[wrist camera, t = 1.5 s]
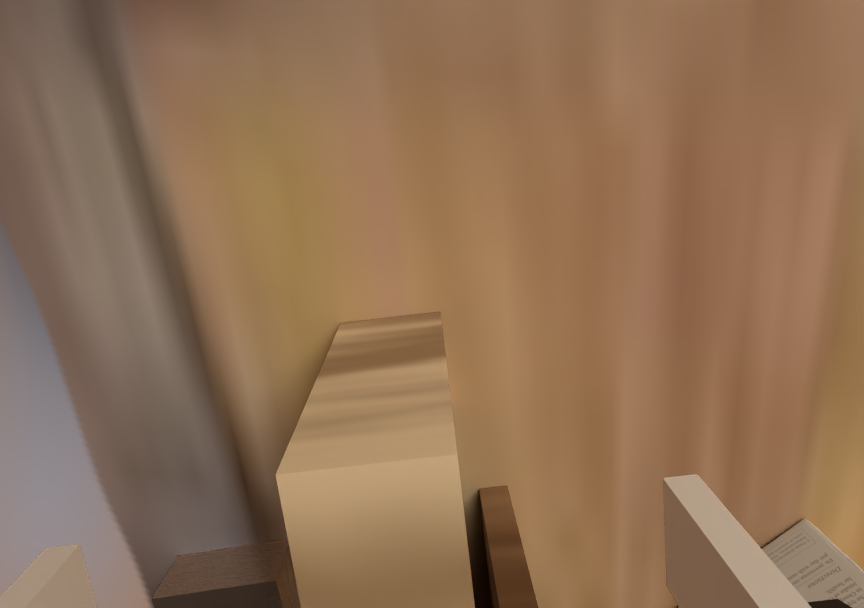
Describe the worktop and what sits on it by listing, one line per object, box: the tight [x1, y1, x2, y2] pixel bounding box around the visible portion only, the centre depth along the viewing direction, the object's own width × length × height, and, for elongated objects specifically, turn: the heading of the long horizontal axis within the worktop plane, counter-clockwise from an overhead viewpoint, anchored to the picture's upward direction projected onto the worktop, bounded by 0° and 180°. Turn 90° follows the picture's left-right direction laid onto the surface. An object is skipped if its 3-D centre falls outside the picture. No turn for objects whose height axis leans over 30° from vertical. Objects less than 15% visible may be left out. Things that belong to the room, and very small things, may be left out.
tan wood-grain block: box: [276, 312, 475, 608], centre depth 22 cm, size 17×4×12 cm, turn 6°
